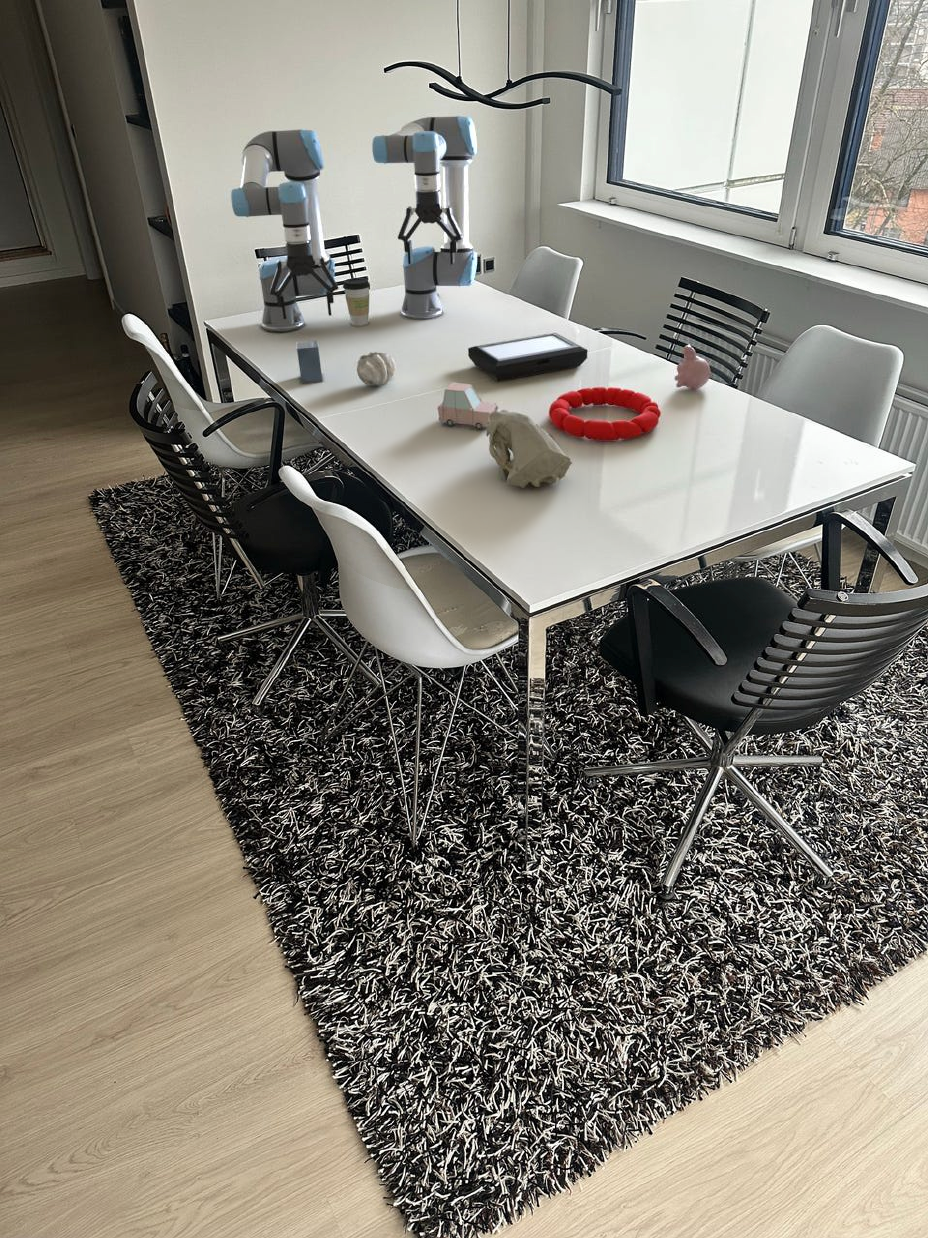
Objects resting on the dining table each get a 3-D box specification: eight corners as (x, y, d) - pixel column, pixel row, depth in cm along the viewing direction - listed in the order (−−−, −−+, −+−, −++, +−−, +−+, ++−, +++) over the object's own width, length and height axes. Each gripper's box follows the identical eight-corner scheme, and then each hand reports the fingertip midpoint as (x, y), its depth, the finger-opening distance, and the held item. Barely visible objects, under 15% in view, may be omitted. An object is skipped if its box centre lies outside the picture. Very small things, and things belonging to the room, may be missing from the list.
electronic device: (495, 363, 267) (468, 345, 282) (495, 383, 270) (468, 364, 285) (587, 347, 277) (556, 330, 292) (586, 366, 281) (555, 349, 296)
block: (300, 376, 282) (296, 342, 275) (321, 374, 282) (317, 340, 276) (301, 383, 276) (296, 348, 270) (322, 381, 277) (318, 347, 271)
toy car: (488, 432, 240) (488, 396, 234) (436, 426, 244) (434, 390, 239) (499, 419, 247) (499, 384, 241) (448, 413, 252) (447, 379, 246)
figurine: (665, 387, 264) (669, 347, 257) (693, 380, 268) (698, 340, 261) (686, 396, 257) (690, 355, 250) (714, 388, 262) (720, 348, 255)
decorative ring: (589, 435, 224) (684, 402, 234) (527, 398, 247) (617, 369, 256) (589, 461, 229) (683, 427, 238) (529, 422, 251) (617, 393, 260)
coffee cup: (372, 326, 323) (368, 283, 314) (345, 327, 323) (340, 284, 315) (374, 318, 331) (371, 276, 322) (348, 319, 331) (344, 277, 323)
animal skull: (496, 517, 219) (521, 479, 201) (463, 429, 225) (484, 384, 207) (557, 503, 225) (586, 465, 206) (523, 417, 231) (549, 373, 212)
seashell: (349, 384, 274) (346, 352, 268) (393, 375, 279) (391, 343, 274) (362, 394, 266) (359, 361, 260) (407, 384, 272) (405, 352, 266)
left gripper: (254, 246, 254) (266, 322, 265) (342, 240, 257) (349, 315, 269) (254, 241, 260) (265, 316, 272) (340, 236, 263) (347, 309, 275)
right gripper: (384, 192, 268) (390, 265, 280) (466, 191, 264) (468, 266, 276) (390, 187, 274) (395, 259, 286) (470, 187, 270) (472, 260, 282)
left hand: (307, 316), depth 270 cm, fingers open, 13 cm apart
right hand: (431, 263), depth 281 cm, fingers open, 13 cm apart
